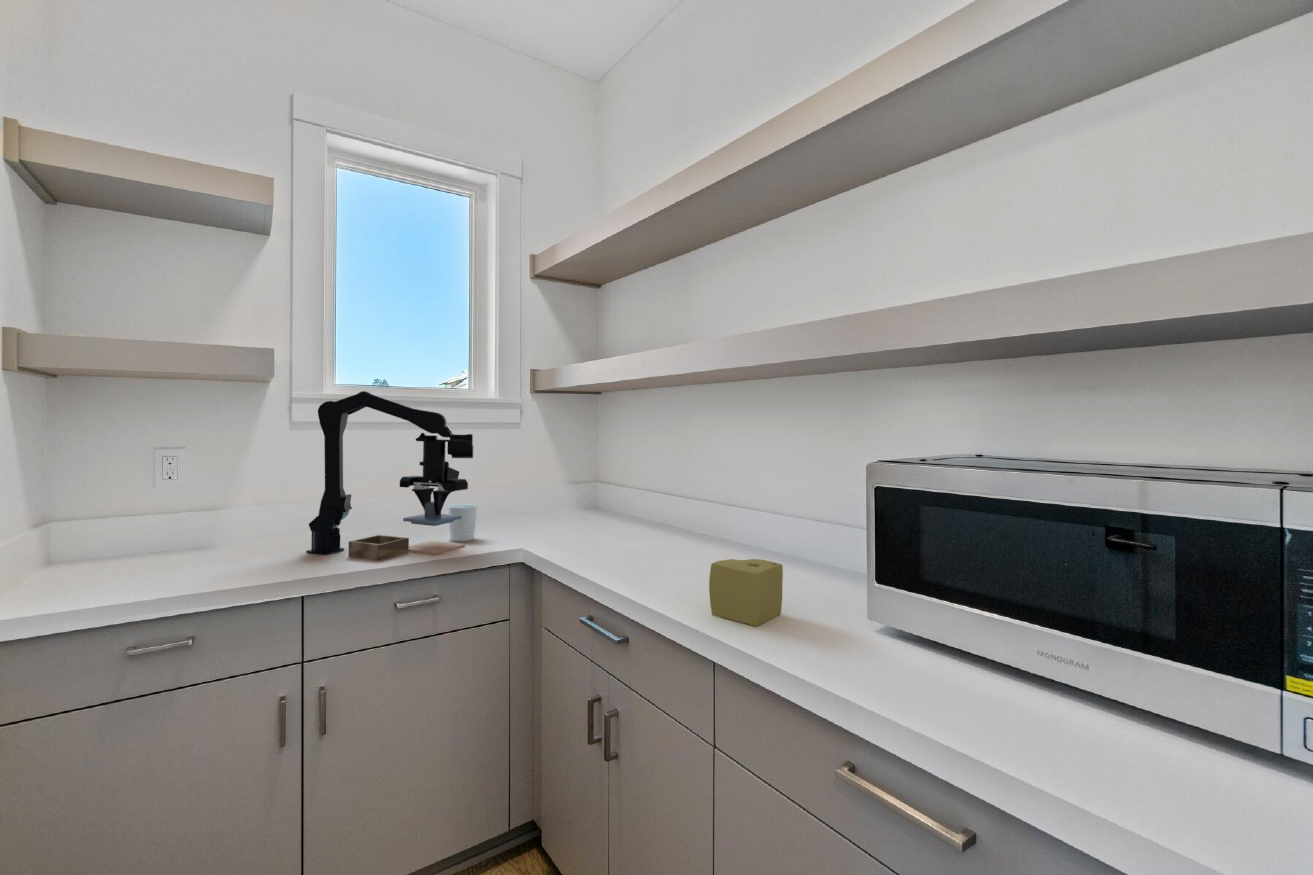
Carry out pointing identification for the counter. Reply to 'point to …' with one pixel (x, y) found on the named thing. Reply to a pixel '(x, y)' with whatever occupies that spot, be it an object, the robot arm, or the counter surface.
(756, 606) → the cheese
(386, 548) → the box
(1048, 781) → the counter surface
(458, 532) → the white cup
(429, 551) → the mat
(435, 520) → the lid
